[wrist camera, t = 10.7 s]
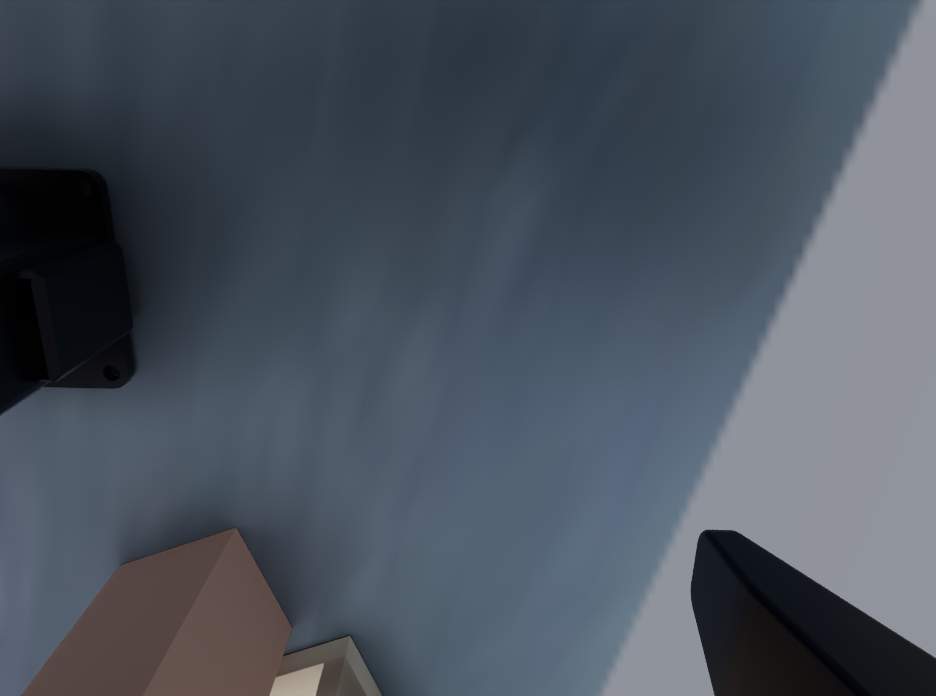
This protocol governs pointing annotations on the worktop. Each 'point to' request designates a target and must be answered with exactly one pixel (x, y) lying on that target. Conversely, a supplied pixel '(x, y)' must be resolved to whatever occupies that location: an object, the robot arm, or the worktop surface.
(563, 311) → the worktop surface
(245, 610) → the terracotta block
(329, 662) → the birch box
